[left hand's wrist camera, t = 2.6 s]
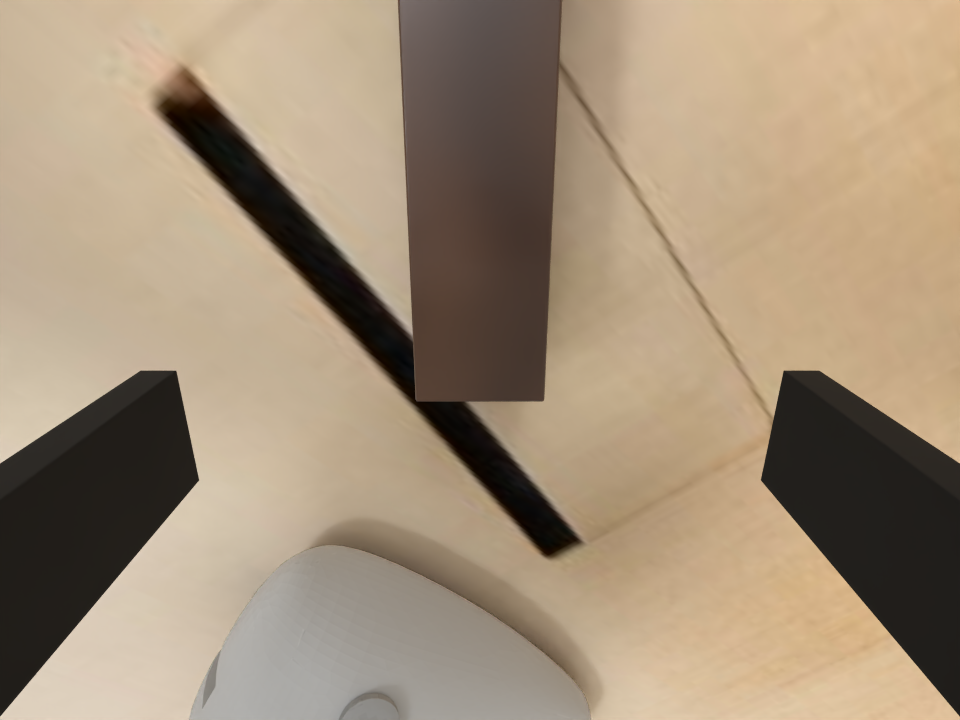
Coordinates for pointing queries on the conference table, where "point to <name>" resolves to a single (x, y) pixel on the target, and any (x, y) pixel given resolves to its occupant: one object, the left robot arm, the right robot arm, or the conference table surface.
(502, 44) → the beam
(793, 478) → the left robot arm
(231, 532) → the conference table surface
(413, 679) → the projector
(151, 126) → the conference table surface
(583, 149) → the conference table surface
